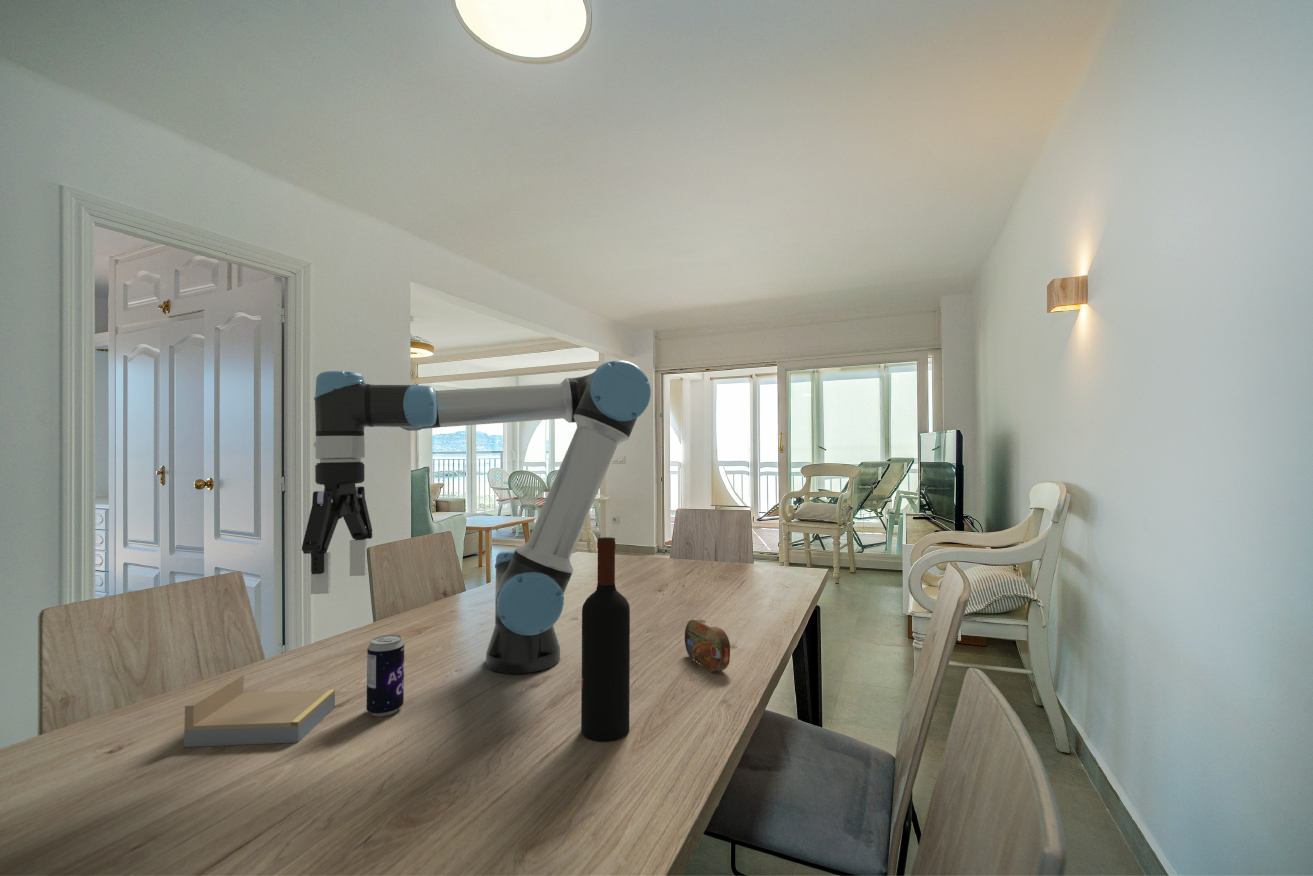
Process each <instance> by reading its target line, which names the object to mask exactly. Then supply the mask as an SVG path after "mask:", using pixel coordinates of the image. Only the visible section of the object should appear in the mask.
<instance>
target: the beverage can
mask: <svg viewBox="0 0 1313 876" xmlns="http://www.w3.org/2000/svg"><path fill="white" fill-rule="evenodd" d="M366 653H367V654H366V655H367V656H366V657H367V658H366V707H365V708H366V710H367V711H368V713H369V714H371V716H373V717H387V716H390V715H393V714H395V713H397V712H398V711H399V710H400V708H401V707H402V706H403V705H404V703H405V701H404V699H405V698H404V694H405V693H404V691H405V686H404V685H405V644H404V641H403V637H402V635H399V634H386V635H380V636H376V637H373V638H372V639H370V641H369V645H368V647H367V650H366Z"/></svg>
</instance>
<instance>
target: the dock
mask: <svg viewBox="0 0 1313 876" xmlns="http://www.w3.org/2000/svg"><path fill="white" fill-rule="evenodd" d="M244 677H245V675H244V674H235V675H234V676H232V677H230V678H229V679H227V680H226V681H224V682H222V683H220V684H219V685H217V686H215V687H214V688H212V689H211V690H208V691H207V692H205V693H204V694H202V695H200V696H199V697H198V698H195V699H194V700H192V701H191V702H189V703H188V704H186V705H184V728H183V729H184V730H183V731H184V733H183V734H184V735H183V737H184V738H183V747H184V748H191V747H192V748H193V747H194V748H195V747H217V746H219V747H221V746H237V745H238V746H243V745H267V744H291V743H292V744H293V743H295V744H296V743H299V742H300V741H301V740H302V739H303V738H304V737H306V735H307V734H308V733H309V732H311V731H312V729H314V728H315V727H316V726H317V725H318V724H319V723H320V722H321V721H322V720H323V719H324V718H326V717H327V716H328V714H330V713H331V712H332V711H333V710H334V709H335V708H336V689H321V690H318V689H317V690H293V691H292V690H289V691H285V690H284V691H257V692H244V680H245V679H244Z"/></svg>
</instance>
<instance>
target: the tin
mask: <svg viewBox="0 0 1313 876" xmlns="http://www.w3.org/2000/svg"><path fill="white" fill-rule="evenodd" d="M684 646H685V650H686V652H687V655H688V657H689V658H690V659H691V658H692V659H694V660H695V661H697V662H698V663H700V664H701V665H703V666H704V667H705V668H704V667H703V666H702V667H703V668H704V669H706V668H707V669H708V670H707V669H706V670H707V671H709V670H710V671H712V672H711V673H714V672H719V671H720V672H721V671H724V670H726V669H727V668H728V667H729V665H730V658H731V643H730V638H729V636H728V634H727V633H726V632H725V630H723V628H721V627H719V626H717V625H714V624H712V623H710V622H709V621H706V620H704V619H691V620H689V621H688V622H687V624H686V626H685V630H684ZM692 659H691V660H692ZM695 661H694V662H695ZM698 663H697V664H698ZM701 665H700V666H701ZM710 671H709V672H710Z"/></svg>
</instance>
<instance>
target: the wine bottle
mask: <svg viewBox="0 0 1313 876" xmlns="http://www.w3.org/2000/svg"><path fill="white" fill-rule="evenodd" d="M596 544H597V547H596V548H597V586H596V589H595V590H594V592H592V593H591V594H590V595H589V596H588V597H587V598H586V599H585V601H584V602H583V604H582V608H581V610H582V611H581V701H580V702H581V704H580V705H581V707H580V708H581V709H580V710H581V711H580V712H581V713H580V714H581V718H580V719H581V720H580V721H581V722H580V723H581V724H580V729H581V730H580V733H581V734H582V736H583V737H584V738H585V739H587V740H590V741H592V742H593V741H594V742H599V743H604V742H605V743H608V742H609V743H610V742H614V741H618V740H620V739H622V738H625V737H626V736H627V735H629V732H630V693H631V692H630V691H631V689H630V681H631V680H630V678H631V677H630V675H631V674H630V669H631V667H630V666H631V665H630V660H631V659H630V657H631V653H630V651H631V649H630V648H631V646H630V645H631V641H630V638H631V637H630V635H631V631H630V630H631V623H630V622H631V621H630V619H631V618H630V617H631V616H630V615H631V613H630V612H631V608H630V603H629V601H628V600H627V599H626V597H625V596H624V595H623V594H621V592H619V591H618V590H617V587H616V538H615V537H609V536H607V537H605V536H604V537H598V538H597V543H596Z"/></svg>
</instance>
